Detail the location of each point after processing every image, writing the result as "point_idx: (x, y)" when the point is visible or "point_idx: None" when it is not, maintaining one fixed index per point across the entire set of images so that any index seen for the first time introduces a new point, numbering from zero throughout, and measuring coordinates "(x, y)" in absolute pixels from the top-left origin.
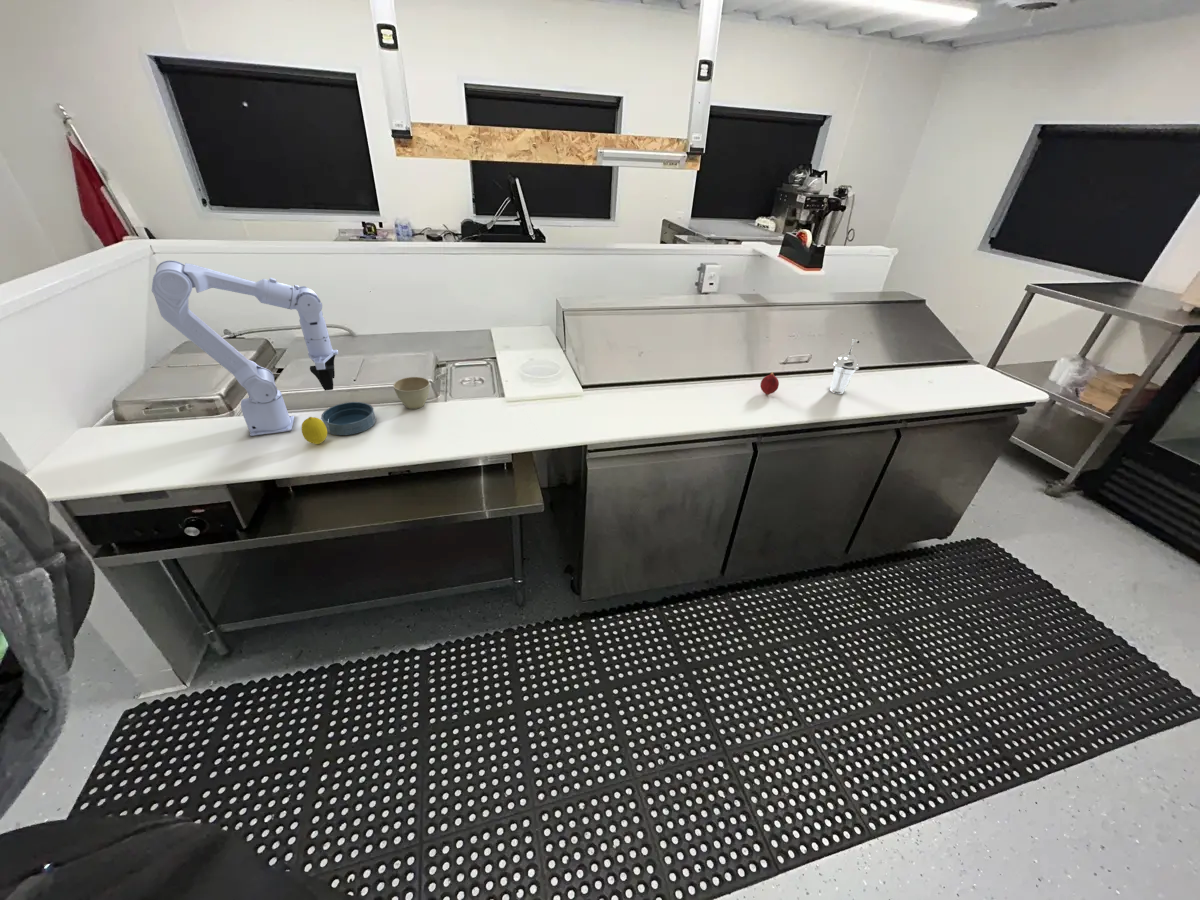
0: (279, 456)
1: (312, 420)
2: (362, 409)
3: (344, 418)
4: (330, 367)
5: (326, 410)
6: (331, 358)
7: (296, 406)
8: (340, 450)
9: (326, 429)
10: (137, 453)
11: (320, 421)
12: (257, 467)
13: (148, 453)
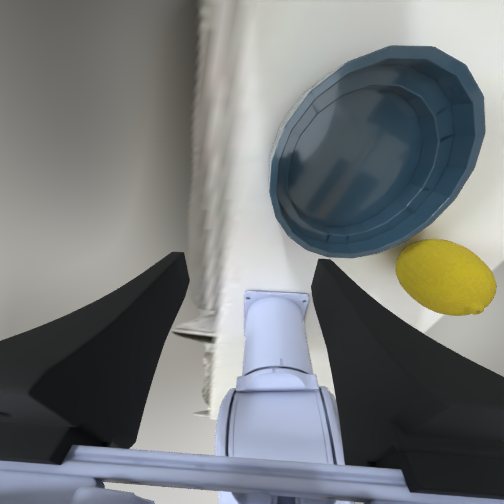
0: (403, 305)
1: (488, 302)
2: (309, 119)
3: (306, 188)
4: (494, 424)
5: (305, 245)
6: (101, 355)
7: (189, 287)
8: (493, 200)
9: (459, 248)
10: None
11: (484, 277)
12: (417, 327)
13: None
